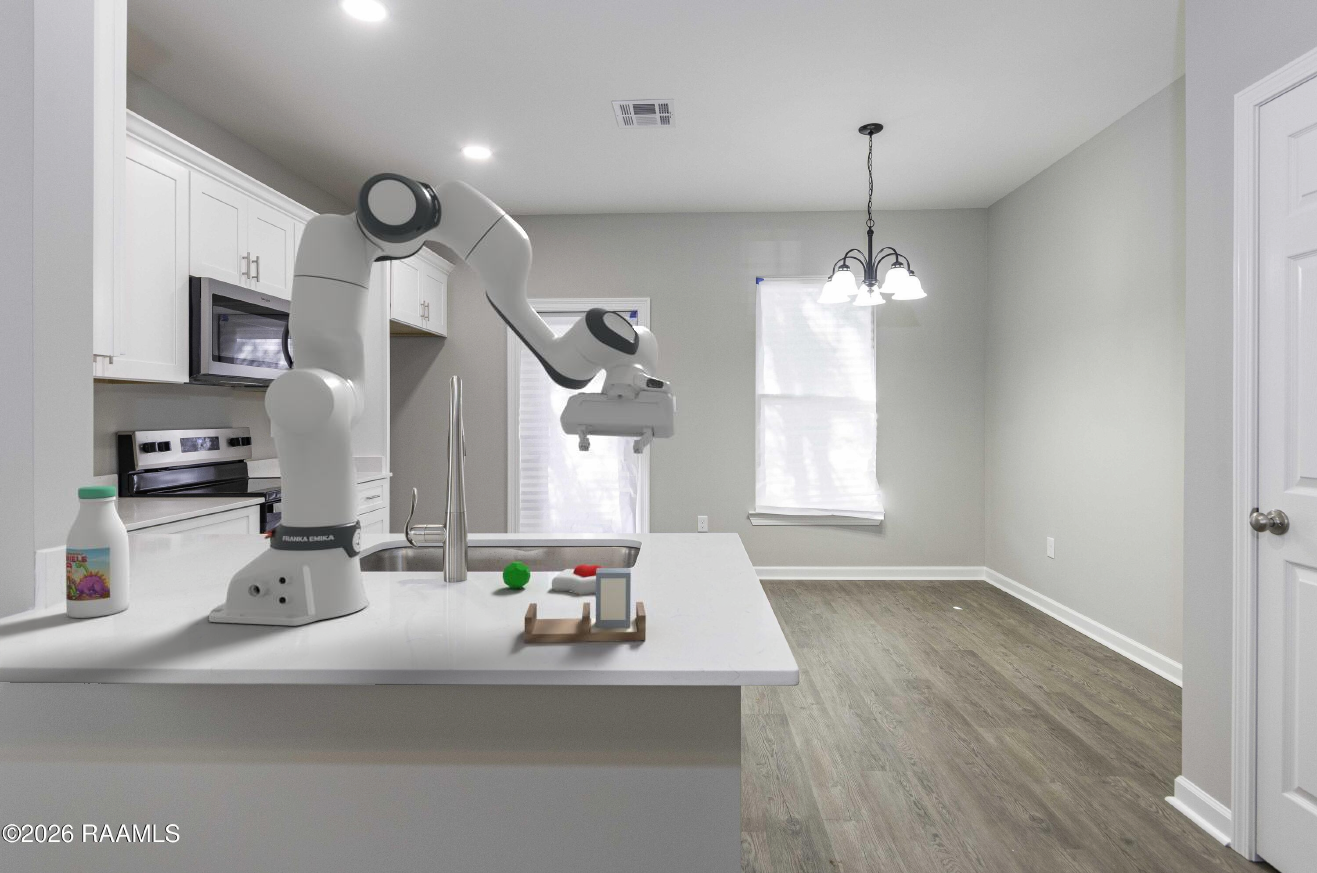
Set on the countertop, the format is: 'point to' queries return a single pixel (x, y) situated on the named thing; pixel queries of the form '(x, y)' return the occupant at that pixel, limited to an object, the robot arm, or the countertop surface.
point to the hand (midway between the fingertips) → (610, 450)
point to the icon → (577, 580)
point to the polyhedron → (516, 575)
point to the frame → (613, 597)
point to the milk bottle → (97, 557)
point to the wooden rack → (581, 628)
